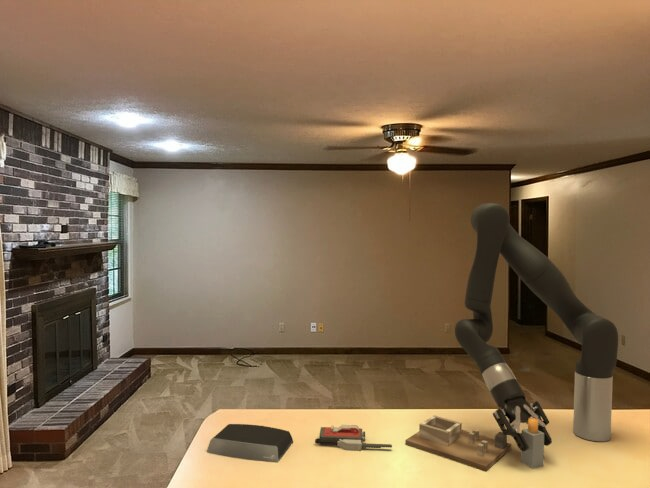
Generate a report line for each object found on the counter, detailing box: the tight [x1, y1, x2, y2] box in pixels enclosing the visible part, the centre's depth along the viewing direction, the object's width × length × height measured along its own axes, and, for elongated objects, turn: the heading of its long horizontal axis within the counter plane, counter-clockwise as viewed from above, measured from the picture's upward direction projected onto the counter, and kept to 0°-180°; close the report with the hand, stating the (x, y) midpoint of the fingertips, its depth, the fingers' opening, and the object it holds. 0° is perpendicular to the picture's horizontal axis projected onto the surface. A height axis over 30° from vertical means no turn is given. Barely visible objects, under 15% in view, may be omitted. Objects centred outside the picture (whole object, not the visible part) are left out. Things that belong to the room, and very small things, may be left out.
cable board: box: [404, 414, 512, 472], centre depth 133 cm, size 16×22×5 cm
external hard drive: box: [206, 423, 294, 463], centre depth 132 cm, size 13×19×4 cm
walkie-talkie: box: [314, 424, 393, 451], centre depth 135 cm, size 9×4×20 cm
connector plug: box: [520, 417, 545, 469], centre depth 124 cm, size 4×4×11 cm
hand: (537, 447), depth 122 cm, fingers open, 7 cm apart
